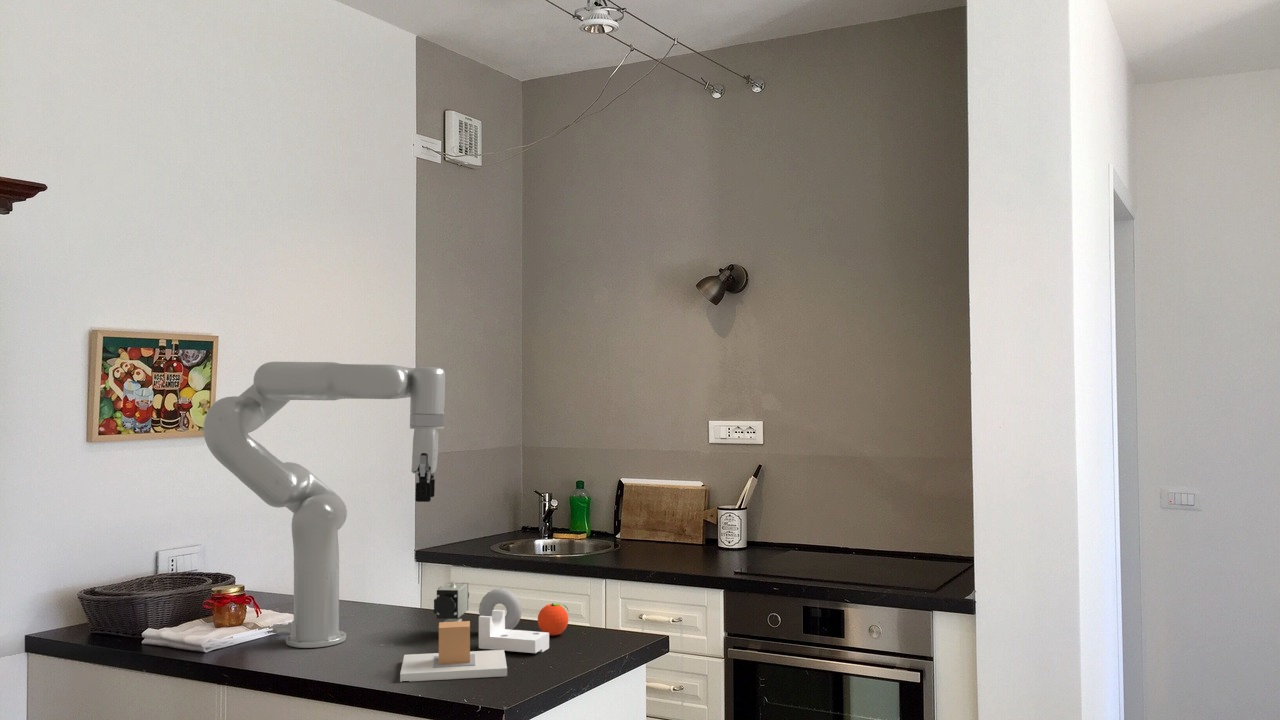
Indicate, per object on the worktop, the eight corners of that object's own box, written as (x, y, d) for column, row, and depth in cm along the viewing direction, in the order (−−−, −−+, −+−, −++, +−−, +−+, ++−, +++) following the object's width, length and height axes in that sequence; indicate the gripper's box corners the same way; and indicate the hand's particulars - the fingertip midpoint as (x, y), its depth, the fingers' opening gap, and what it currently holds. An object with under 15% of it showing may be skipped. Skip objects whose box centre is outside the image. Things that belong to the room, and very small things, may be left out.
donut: (523, 632, 227) (523, 587, 227) (518, 635, 223) (518, 590, 224) (482, 630, 229) (482, 586, 229) (476, 633, 225) (476, 589, 226)
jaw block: (438, 664, 194) (438, 627, 194) (439, 657, 199) (439, 622, 199) (470, 662, 195) (470, 626, 195) (469, 656, 200) (469, 621, 200)
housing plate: (400, 681, 188) (400, 655, 188) (404, 662, 202) (404, 637, 202) (507, 676, 192) (507, 650, 192) (504, 657, 205) (504, 633, 206)
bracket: (478, 652, 210) (478, 616, 210) (494, 644, 217) (494, 609, 217) (535, 657, 206) (535, 620, 206) (549, 649, 213) (549, 613, 213)
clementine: (559, 629, 230) (559, 598, 230) (578, 634, 225) (578, 602, 225) (531, 635, 224) (531, 603, 224) (550, 640, 219) (550, 608, 219)
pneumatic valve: (469, 629, 230) (469, 576, 230) (455, 642, 218) (455, 586, 219) (446, 629, 230) (446, 576, 231) (430, 641, 219) (430, 586, 219)
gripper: (413, 420, 231) (412, 495, 230) (405, 423, 214) (403, 503, 213) (446, 421, 232) (445, 495, 231) (441, 423, 215) (439, 503, 214)
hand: (425, 499), depth 222 cm, fingers open, 9 cm apart
